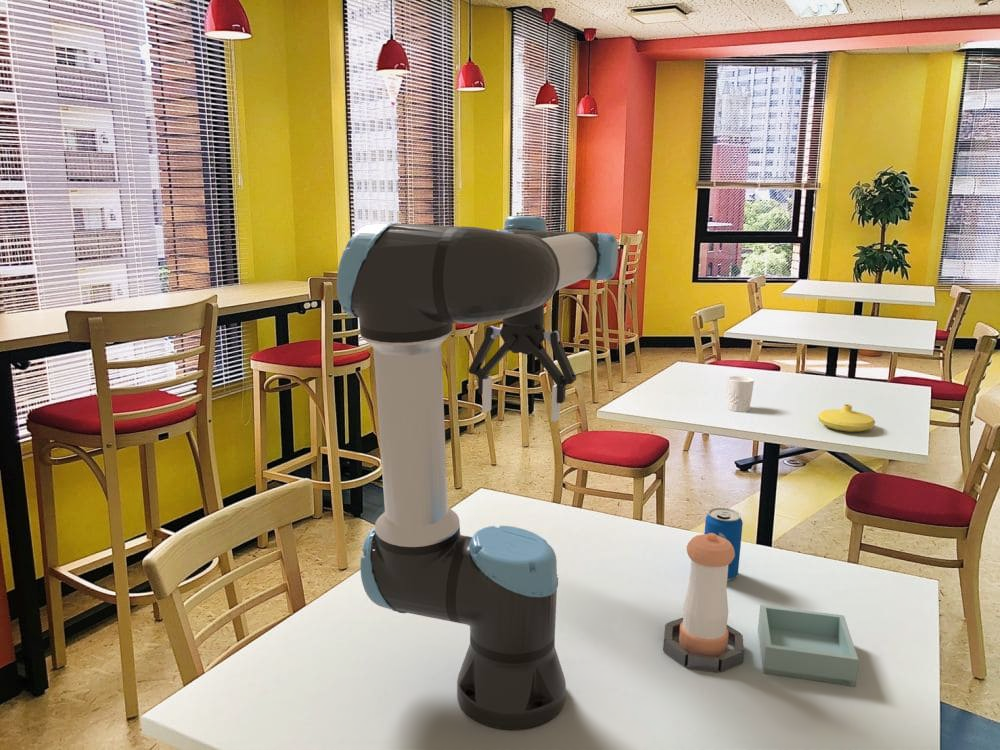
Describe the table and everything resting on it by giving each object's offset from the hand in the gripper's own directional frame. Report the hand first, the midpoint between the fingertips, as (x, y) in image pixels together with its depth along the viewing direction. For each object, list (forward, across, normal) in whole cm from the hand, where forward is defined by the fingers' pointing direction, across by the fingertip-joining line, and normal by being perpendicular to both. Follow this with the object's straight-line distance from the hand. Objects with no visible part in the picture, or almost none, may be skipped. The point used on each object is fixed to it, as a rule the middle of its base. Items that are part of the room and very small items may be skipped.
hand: (520, 415), depth 153 cm
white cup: (+26, -31, -123) cm, 129 cm away
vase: (+26, -62, -115) cm, 133 cm away
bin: (+27, -53, +18) cm, 62 cm away
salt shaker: (+28, -38, +22) cm, 52 cm away
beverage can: (+27, -38, -5) cm, 47 cm away
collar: (+27, -38, +22) cm, 52 cm away
